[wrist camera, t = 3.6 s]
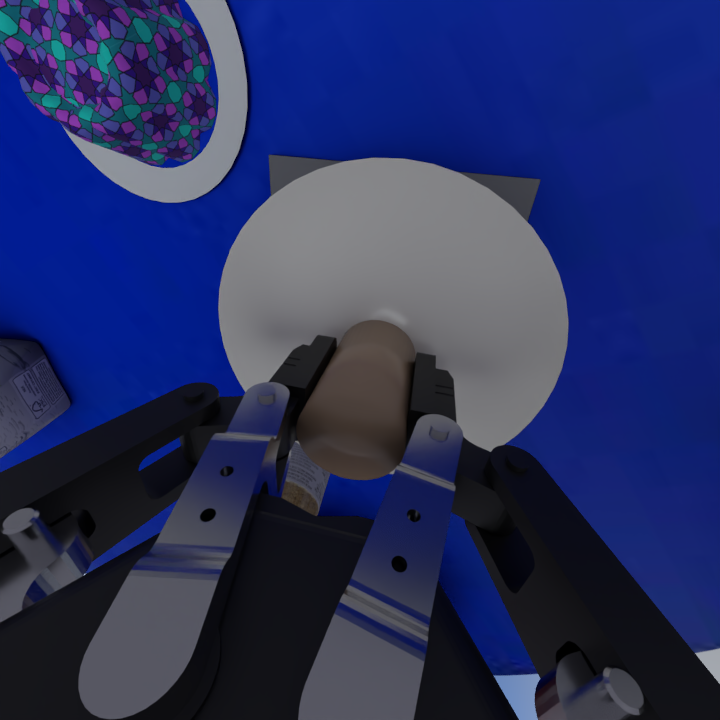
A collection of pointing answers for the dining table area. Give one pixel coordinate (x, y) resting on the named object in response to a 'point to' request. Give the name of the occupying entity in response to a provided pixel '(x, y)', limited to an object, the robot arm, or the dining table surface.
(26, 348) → the juice carton
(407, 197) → the lid
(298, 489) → the sprinkles bottle
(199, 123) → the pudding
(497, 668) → the dining table surface
